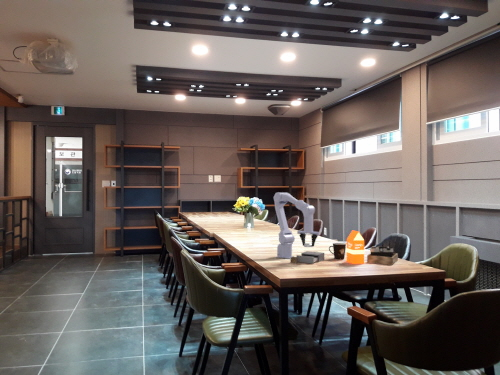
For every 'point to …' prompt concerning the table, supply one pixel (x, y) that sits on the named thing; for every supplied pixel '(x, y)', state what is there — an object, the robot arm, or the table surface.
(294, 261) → the walnut block
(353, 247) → the orange juice
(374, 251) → the camera
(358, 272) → the table surface
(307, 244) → the disc
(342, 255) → the coffee mug
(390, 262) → the frame
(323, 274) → the table surface
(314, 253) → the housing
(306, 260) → the grey drawer
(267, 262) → the table surface
